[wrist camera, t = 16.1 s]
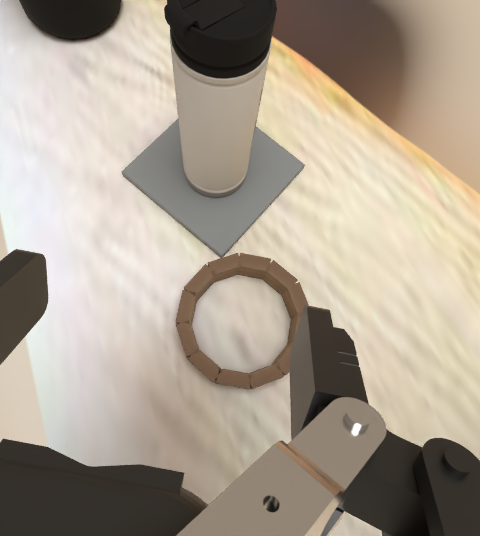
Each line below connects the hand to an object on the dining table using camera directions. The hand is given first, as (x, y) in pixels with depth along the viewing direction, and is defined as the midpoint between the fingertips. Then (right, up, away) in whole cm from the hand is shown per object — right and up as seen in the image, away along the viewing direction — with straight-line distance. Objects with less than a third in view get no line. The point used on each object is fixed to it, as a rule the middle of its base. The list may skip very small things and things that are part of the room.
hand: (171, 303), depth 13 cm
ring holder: (+2, -4, +26) cm, 26 cm away
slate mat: (0, +11, +30) cm, 32 cm away
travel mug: (0, +11, +29) cm, 31 cm away
